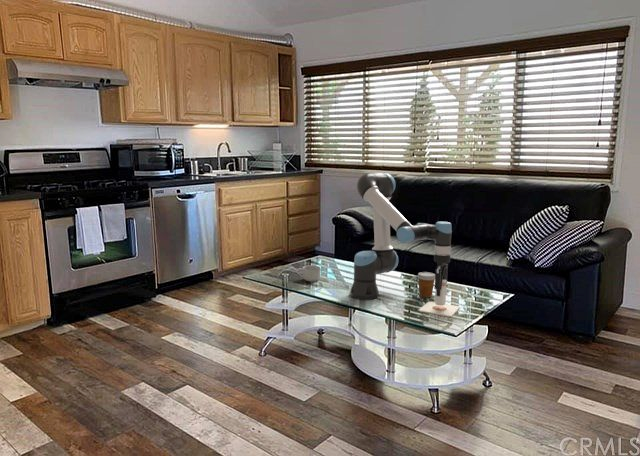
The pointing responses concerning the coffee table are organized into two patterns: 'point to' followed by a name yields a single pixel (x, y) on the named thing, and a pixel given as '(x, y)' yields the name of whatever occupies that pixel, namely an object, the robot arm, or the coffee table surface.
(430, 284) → the disposable coffee cup
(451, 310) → the card
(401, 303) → the coffee table surface
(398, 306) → the coffee table surface
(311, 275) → the teacup
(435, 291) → the plastic tube
